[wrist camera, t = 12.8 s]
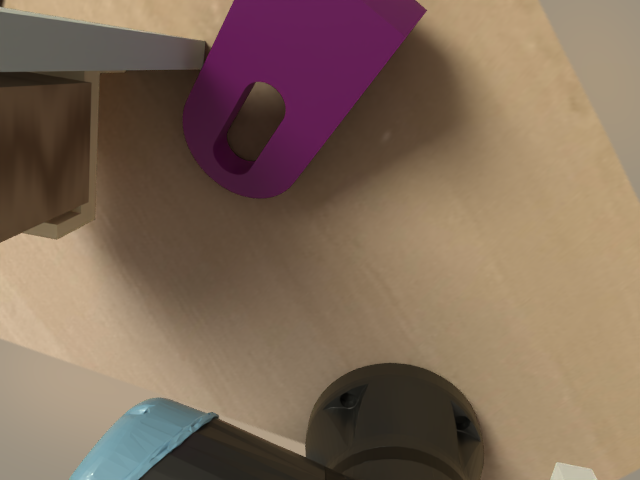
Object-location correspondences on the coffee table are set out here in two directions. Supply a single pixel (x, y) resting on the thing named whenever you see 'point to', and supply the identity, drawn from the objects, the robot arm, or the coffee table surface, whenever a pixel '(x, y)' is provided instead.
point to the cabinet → (42, 148)
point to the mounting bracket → (289, 80)
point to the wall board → (86, 72)
